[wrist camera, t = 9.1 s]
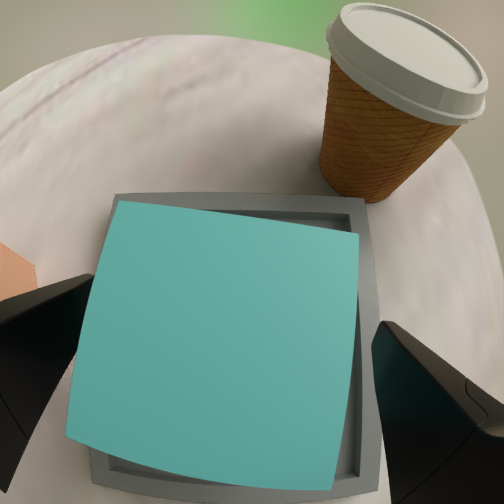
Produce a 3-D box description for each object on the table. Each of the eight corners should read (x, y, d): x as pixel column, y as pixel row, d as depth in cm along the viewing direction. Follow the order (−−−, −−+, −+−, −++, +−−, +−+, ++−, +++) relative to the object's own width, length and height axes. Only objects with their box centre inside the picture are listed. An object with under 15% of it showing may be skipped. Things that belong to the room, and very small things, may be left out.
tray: (365, 481, 14) (377, 490, 12) (105, 474, 14) (92, 482, 12) (354, 213, 21) (363, 198, 19) (124, 208, 21) (115, 194, 19)
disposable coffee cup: (320, 109, 25) (351, -12, 14) (419, 155, 23) (484, 52, 12) (277, 187, 22) (304, 34, 10) (400, 245, 20) (506, 135, 9)
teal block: (268, 408, 15) (330, 490, 4) (187, 395, 15) (65, 436, 4) (279, 330, 17) (359, 233, 5) (200, 318, 17) (119, 200, 5)
